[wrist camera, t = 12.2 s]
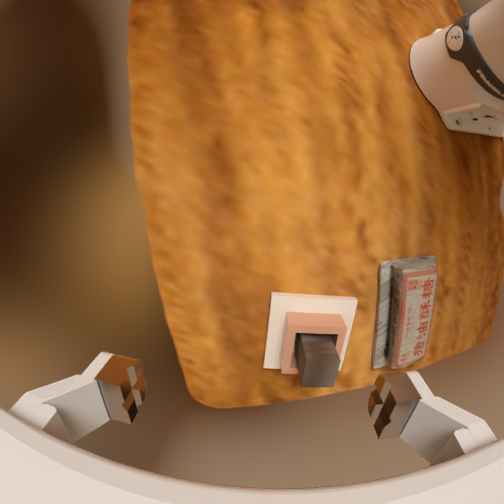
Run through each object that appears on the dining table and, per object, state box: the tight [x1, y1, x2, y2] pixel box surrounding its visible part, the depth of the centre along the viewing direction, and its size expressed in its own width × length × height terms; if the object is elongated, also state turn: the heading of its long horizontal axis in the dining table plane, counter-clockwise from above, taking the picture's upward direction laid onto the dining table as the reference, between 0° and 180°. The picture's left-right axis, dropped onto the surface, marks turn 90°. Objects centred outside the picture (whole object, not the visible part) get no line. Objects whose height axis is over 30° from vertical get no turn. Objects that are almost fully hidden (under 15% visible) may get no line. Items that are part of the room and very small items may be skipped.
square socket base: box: [263, 292, 358, 374], centre depth 38 cm, size 12×12×5 cm
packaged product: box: [372, 255, 438, 369], centre depth 37 cm, size 18×5×10 cm
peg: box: [294, 333, 341, 387], centre depth 34 cm, size 4×4×9 cm
